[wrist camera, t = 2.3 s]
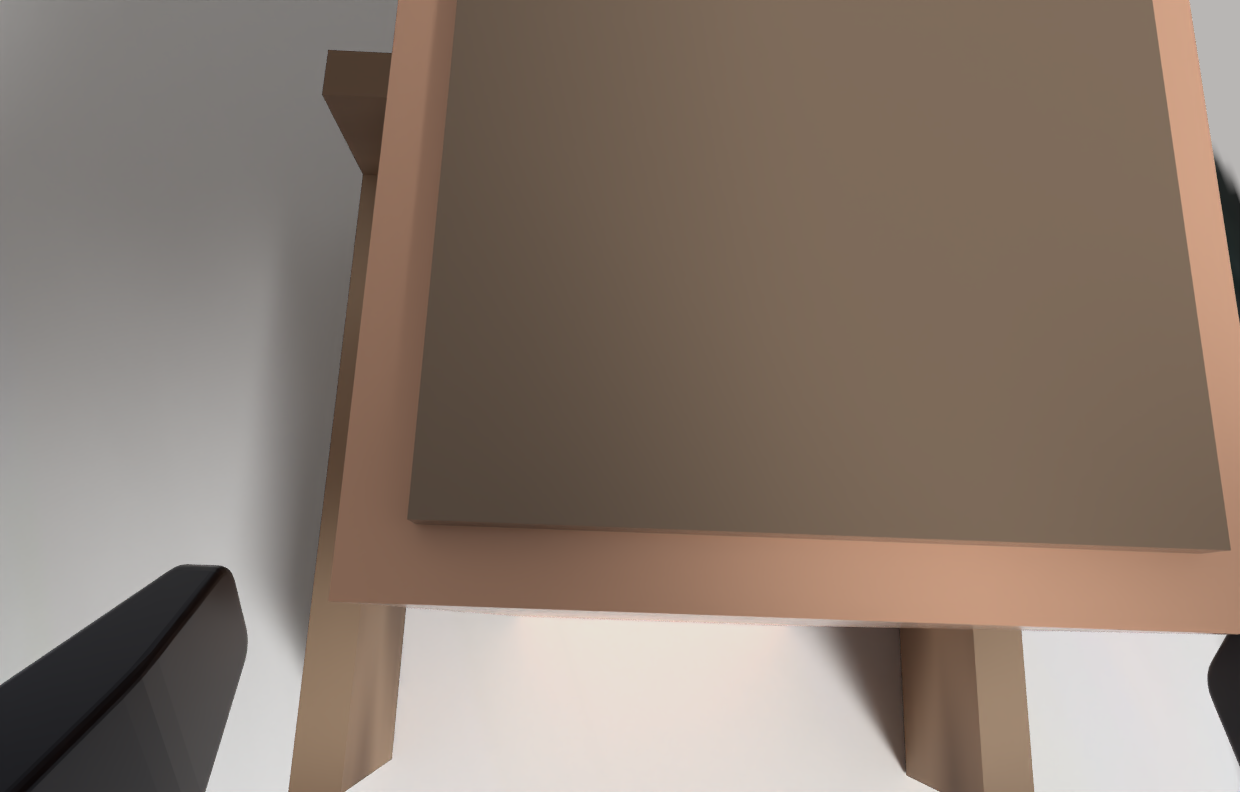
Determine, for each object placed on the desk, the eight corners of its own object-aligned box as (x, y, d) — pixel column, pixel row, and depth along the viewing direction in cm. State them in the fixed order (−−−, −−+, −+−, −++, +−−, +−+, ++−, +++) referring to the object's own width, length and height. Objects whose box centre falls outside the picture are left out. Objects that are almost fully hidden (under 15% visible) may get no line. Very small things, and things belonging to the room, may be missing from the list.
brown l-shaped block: (946, 776, 17) (1133, 857, 11) (350, 757, 17) (220, 830, 11) (916, 243, 20) (1051, 86, 14) (406, 219, 19) (328, 49, 14)
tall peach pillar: (789, 625, 18) (1326, 636, 5) (517, 616, 17) (314, 600, 5) (785, 365, 19) (1189, -168, 6) (534, 355, 19) (413, -211, 6)
